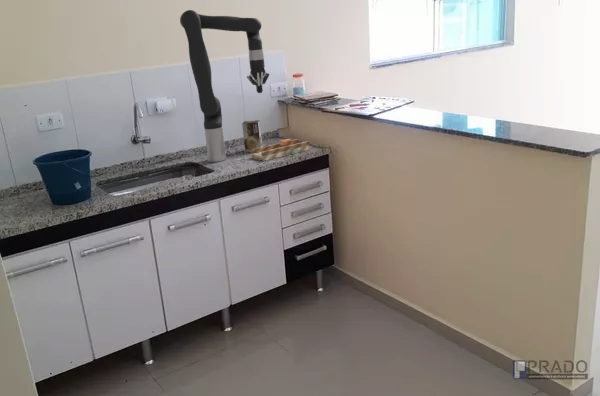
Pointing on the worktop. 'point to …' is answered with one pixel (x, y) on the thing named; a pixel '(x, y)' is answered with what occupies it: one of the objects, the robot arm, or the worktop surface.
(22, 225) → the worktop surface
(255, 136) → the coffee box
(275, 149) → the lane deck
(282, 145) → the block
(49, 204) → the worktop surface
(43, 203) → the worktop surface
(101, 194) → the worktop surface
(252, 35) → the robot arm
